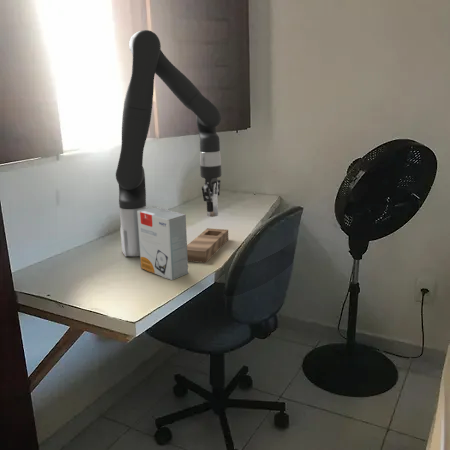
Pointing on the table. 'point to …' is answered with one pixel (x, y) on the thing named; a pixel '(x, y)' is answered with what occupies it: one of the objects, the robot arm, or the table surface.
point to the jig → (206, 244)
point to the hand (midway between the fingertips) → (212, 209)
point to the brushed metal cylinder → (214, 207)
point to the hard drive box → (163, 242)
